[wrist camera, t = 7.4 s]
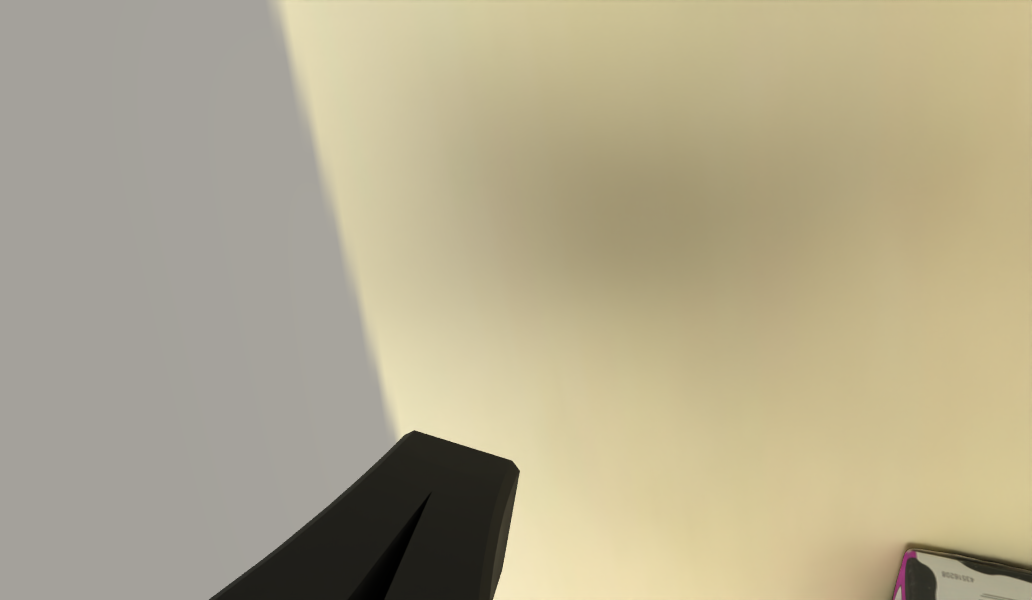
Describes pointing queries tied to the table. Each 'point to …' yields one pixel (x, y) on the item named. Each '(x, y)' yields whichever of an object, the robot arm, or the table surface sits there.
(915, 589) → the candy bar box
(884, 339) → the table surface
